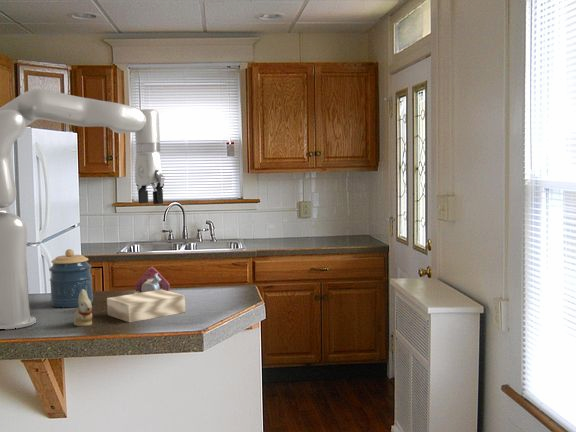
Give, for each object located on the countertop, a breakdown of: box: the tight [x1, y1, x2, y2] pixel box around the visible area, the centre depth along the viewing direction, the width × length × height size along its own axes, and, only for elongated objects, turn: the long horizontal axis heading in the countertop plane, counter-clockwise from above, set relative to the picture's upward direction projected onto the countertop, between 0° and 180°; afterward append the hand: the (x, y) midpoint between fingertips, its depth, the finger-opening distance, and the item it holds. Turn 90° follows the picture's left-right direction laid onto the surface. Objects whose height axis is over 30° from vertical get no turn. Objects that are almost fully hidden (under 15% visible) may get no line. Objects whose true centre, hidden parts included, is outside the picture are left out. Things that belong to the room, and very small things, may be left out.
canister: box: [48, 248, 94, 309], centre depth 231 cm, size 13×13×18 cm
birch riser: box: [106, 290, 186, 323], centre depth 214 cm, size 18×14×5 cm
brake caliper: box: [134, 266, 170, 294], centre depth 231 cm, size 11×11×12 cm
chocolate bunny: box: [73, 289, 93, 327], centre depth 203 cm, size 6×8×10 cm
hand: (150, 203), depth 230 cm, fingers open, 9 cm apart
